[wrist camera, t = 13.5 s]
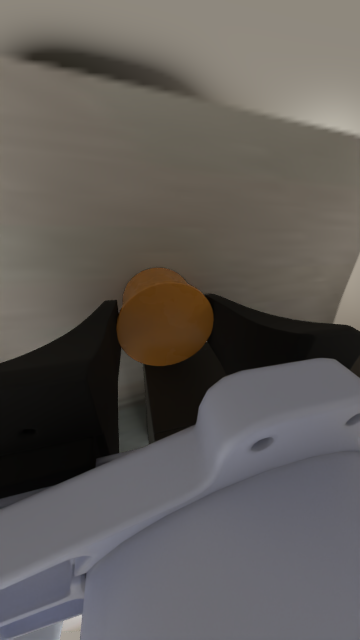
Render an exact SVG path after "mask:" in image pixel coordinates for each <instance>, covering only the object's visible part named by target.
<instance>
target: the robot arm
mask: <svg viewBox="0 0 360 640" xmlns="http://www.w3.org/2000/svg"><path fill="white" fill-rule="evenodd" d="M203 295H204V296H205V297H206V298H207V300H208V301H209V303H210V305H211V307H212V310H213V316H214V321H213V328H212V331H211V334H210V336H209V338H208V340H207V342H208V343H209V345H210V347H211V348H212V350H213V352H214V353H215V355H216V356H217V358H218V360H219V361H220V363H221V365H222V367H223V369H224V371H225V373H226V375H227V376H225V377H223V378H222V379H220V380H219V381H218V382H217V383H215V384H214V385H213V386H212V387H210V388H209V389H208V390H207V392H206V394H205V396H204V398H203V400H202V402H201V404H200V406H199V410H198V416H197V422H196V425H193V426H191V427H188V428H186V429H184V430H181V431H179V432H177V433H175V434H172V435H170V436H168V437H165V438H163V439H161V440H158V441H156V442H154V443H151V444H149V445H147V446H145V447H142V448H139V449H135V450H130V451H126V452H122V453H119V428H118V375H119V366H120V356H121V346H120V344H119V341H118V337H117V330H116V325H117V318H118V315H119V313H118V305H117V300H108V301H104V302H103V303H102V304H101V305H100V306H99V307H98V308H97V309H96V310H95V311H94V312H93V313H92V314H91V315H90V316H89V317H88V318H87V319H85V320H84V321H83V322H82V323H81V324H80V325H78V326H77V327H76V328H74V329H73V330H71V331H70V332H68V333H67V334H65V335H63V336H62V337H60V338H58V339H56V340H54V341H52V342H51V343H49V344H47V345H45V346H43V347H41V348H38V349H36V350H34V351H32V352H29V353H27V354H24V355H22V356H19V357H17V358H14V359H11V360H8V361H6V362H3V363H0V640H10V639H13V638H15V637H18V636H21V635H24V634H27V633H30V632H33V631H36V630H38V629H41V628H44V627H47V626H50V625H53V624H56V623H59V622H61V621H64V620H67V619H70V618H73V617H76V616H79V615H82V624H81V634H80V640H360V378H359V377H358V376H356V375H355V374H354V373H353V372H351V371H350V369H351V368H352V366H353V365H354V363H355V362H356V360H357V359H358V357H359V356H360V331H358V330H356V329H355V328H353V327H351V326H348V325H340V324H325V323H314V322H306V321H299V320H293V319H288V318H283V317H278V316H274V315H270V314H267V313H263V312H260V311H256V310H254V309H251V308H248V307H245V306H243V305H240V304H238V303H235V302H233V301H230V300H228V299H226V298H223V297H221V296H218V295H215V294H203Z"/></svg>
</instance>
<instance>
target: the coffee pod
mask: <svg viewBox="0 0 360 640" xmlns="http://www.w3.org/2000/svg"><path fill="white" fill-rule="evenodd" d="M213 321H214V316H213V310H212V307H211V305H210V303H209V301H208V300H207V298H206V297H205V296H204V295H203V294H202V292H200V291H199V290H198V289H197V288H195V287H193V286H192V285H189V284H187V282H186V281H185V280H184V279H183V277H182V276H180V275H179V274H178V273H176V272H175V271H172V270H170V269H166V268H150V269H147V270H144V271H142V272H140V273H138V274H137V275H135V276H134V277H133V278H132V279H131V280H130V281H129V283H128V284H127V286H126V288H125V290H124V293H123V306H122V308H121V310H120V312H119V315H118V318H117V325H116V330H117V337H118V341H119V344H120V346H121V347H122V349H123V350H124V351H125V352H126V354H127V355H129V356H130V357H131V358H133V359H134V360H136V361H138V362H140V363H143V364H146V365H152V366H166V365H172V364H176V363H179V362H181V361H184V360H186V359H188V358H189V357H191V356H192V355H194V354H195V353H196V352H198V351H199V350H200V349H201V348H202V347H203V345H204V344H205V343H206V341H207V340H208V338H209V336H210V334H211V331H212V328H213Z"/></svg>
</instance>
